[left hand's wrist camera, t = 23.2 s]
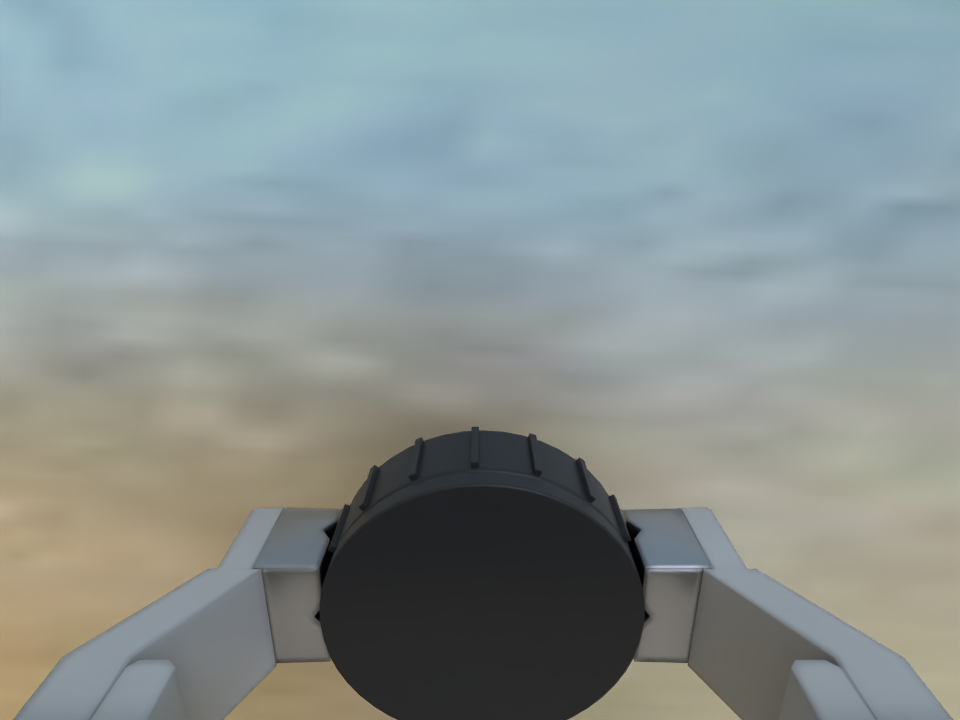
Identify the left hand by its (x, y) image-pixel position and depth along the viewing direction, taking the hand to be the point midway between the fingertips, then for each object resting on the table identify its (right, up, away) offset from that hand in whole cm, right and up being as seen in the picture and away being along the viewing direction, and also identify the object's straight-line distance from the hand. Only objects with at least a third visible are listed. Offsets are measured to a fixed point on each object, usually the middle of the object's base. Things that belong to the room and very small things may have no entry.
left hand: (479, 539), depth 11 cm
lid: (0, -1, -1) cm, 2 cm away
